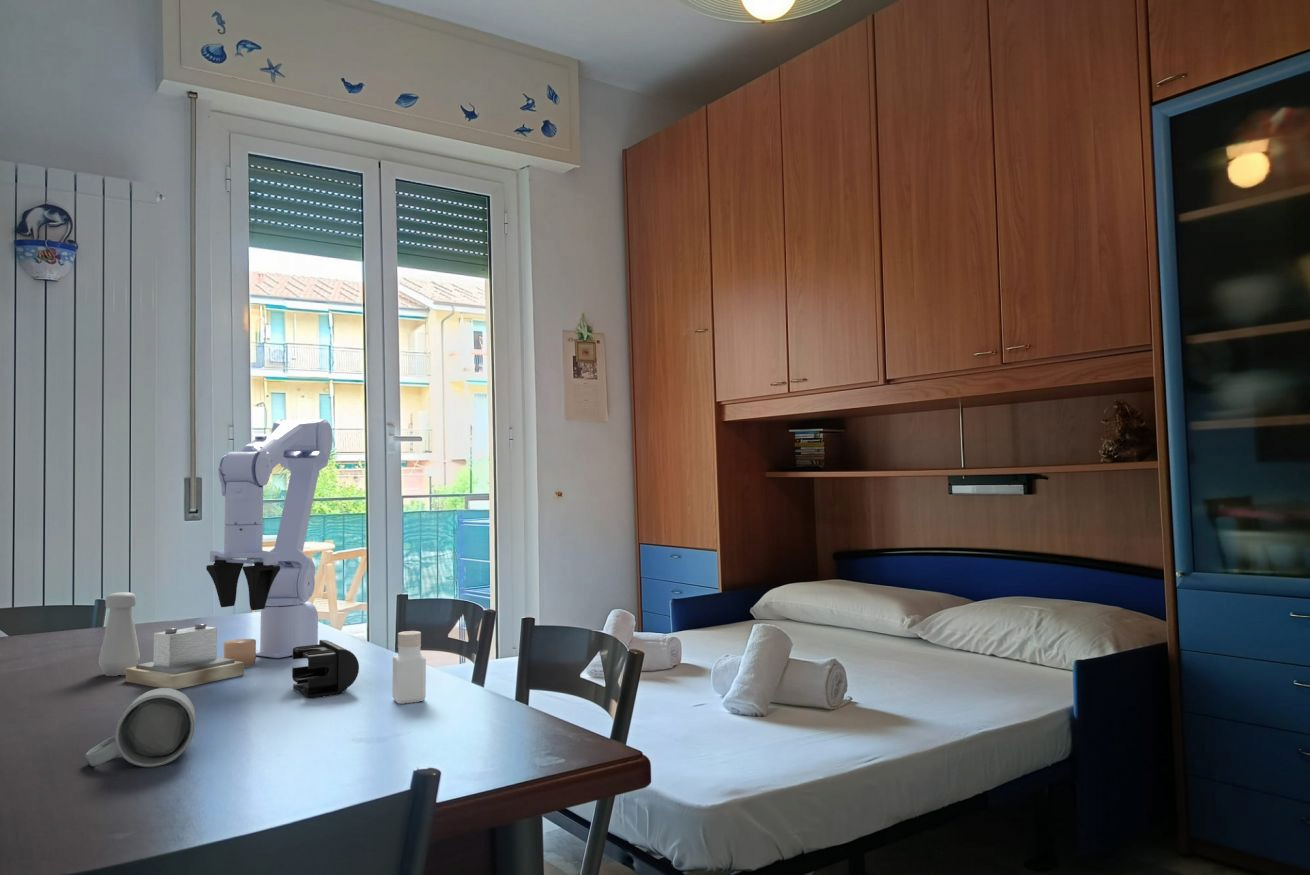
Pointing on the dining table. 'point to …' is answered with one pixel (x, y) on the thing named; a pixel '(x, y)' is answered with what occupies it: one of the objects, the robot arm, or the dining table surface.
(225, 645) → the peach rounded cylinder
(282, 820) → the dining table surface
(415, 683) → the pepper shaker
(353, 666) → the end cap
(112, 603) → the salt shaker
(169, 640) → the alloy housing
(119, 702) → the dining table surface
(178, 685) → the birch plinth
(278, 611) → the robot arm
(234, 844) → the dining table surface
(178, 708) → the ceramic mug
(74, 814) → the dining table surface
